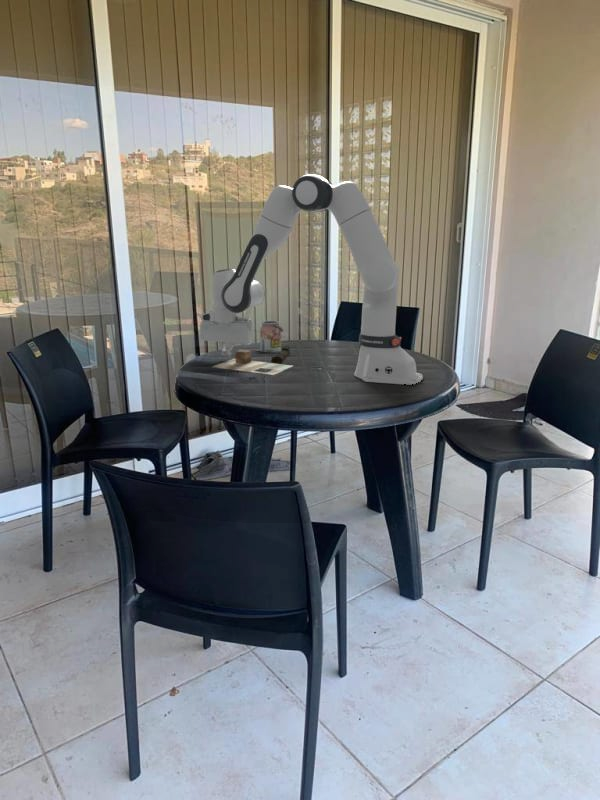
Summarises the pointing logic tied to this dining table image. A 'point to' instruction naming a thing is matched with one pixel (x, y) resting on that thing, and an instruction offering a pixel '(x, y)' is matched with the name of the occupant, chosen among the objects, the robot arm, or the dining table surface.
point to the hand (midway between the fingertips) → (226, 354)
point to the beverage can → (270, 337)
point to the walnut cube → (243, 356)
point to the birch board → (254, 367)
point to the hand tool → (281, 355)
